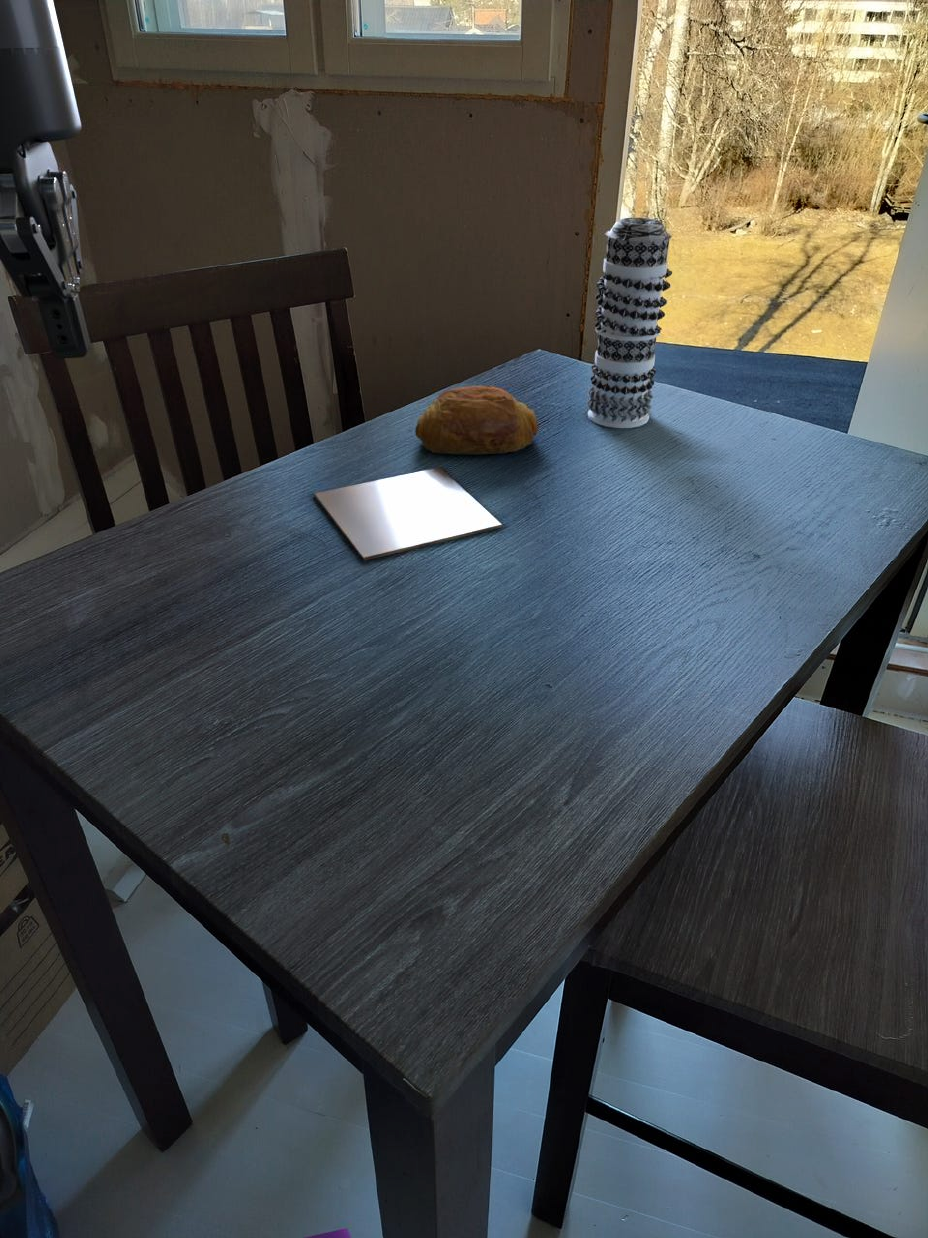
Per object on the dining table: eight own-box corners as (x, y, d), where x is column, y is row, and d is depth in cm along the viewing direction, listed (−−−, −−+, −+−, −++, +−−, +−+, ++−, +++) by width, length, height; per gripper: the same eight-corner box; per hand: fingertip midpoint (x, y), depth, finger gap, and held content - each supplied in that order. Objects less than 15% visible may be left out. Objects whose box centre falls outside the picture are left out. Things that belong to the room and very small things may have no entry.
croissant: (534, 478, 107) (547, 418, 102) (411, 461, 106) (418, 400, 101) (528, 429, 119) (539, 374, 114) (417, 414, 117) (423, 357, 112)
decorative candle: (662, 426, 115) (691, 226, 101) (598, 431, 114) (618, 229, 99) (637, 402, 123) (661, 212, 108) (576, 406, 121) (592, 215, 107)
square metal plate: (363, 561, 86) (363, 557, 86) (314, 496, 98) (314, 493, 98) (502, 527, 92) (502, 524, 92) (439, 470, 104) (439, 466, 104)
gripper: (-48, 37, 51) (36, 328, 61) (-133, 43, 41) (-15, 393, 51) (82, 36, 52) (144, 322, 62) (32, 42, 42) (116, 385, 52)
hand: (73, 354), depth 57 cm, fingers closed
